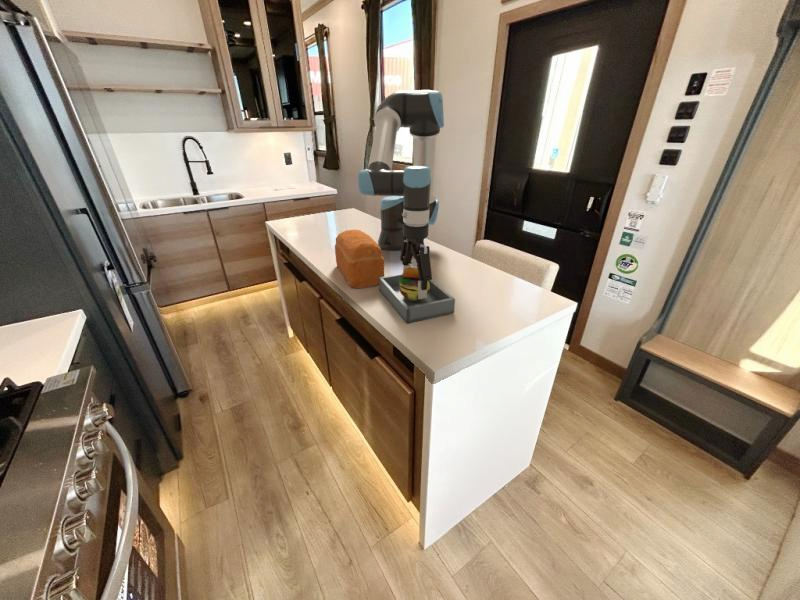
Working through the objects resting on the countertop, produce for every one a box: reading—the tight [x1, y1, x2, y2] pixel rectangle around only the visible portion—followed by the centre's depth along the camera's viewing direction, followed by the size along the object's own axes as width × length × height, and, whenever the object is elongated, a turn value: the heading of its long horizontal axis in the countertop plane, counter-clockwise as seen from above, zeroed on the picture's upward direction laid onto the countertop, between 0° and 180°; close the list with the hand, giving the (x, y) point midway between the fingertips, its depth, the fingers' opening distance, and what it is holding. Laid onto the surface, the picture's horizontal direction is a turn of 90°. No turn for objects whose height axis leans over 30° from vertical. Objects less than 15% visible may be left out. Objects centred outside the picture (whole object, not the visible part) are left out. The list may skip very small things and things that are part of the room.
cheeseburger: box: [399, 267, 430, 301], centre depth 103 cm, size 10×11×10 cm
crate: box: [378, 272, 456, 325], centre depth 105 cm, size 24×16×5 cm, turn 23°
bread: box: [334, 229, 385, 289], centre depth 122 cm, size 14×26×16 cm, turn 22°
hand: (414, 290), depth 104 cm, fingers closed on cheeseburger, 11 cm apart
